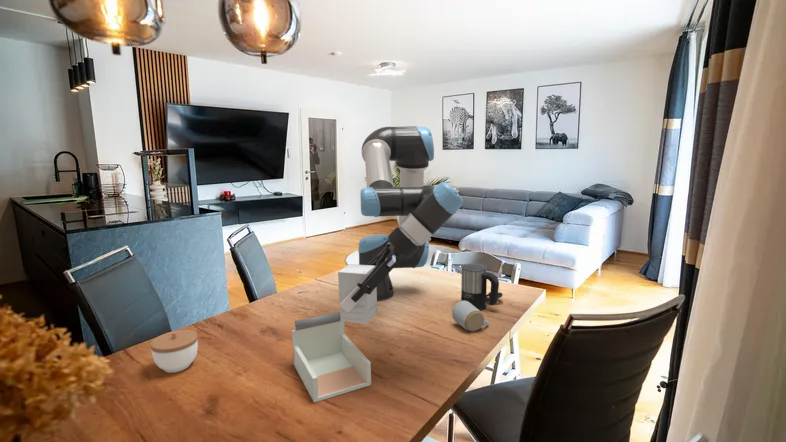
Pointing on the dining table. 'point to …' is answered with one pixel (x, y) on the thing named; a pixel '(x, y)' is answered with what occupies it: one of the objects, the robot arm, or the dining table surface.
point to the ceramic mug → (468, 316)
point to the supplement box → (347, 284)
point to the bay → (328, 357)
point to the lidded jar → (175, 350)
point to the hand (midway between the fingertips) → (345, 301)
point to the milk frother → (478, 286)
